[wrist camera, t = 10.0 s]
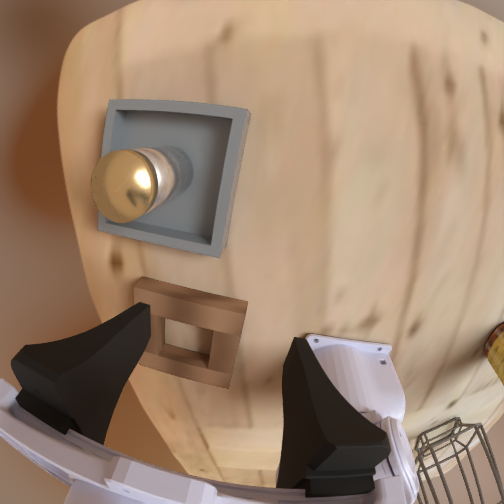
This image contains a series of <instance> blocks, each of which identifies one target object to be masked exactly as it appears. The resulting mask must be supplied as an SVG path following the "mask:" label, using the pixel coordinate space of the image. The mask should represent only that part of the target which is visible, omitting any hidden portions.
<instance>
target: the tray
mask: <svg viewBox="0 0 504 504" xmlns="http://www.w3.org/2000/svg"><path fill="white" fill-rule="evenodd" d="M250 116H251V113H250V112H249V110H248V109H244V108H237V107H230V106H223V105H215V104H206V103H196V102H184V101H169V100H141V99H120V100H109V103H108V109H107V115H106V121H105V128H104V135H103V143H102V152H101V158H102V157H103V156H104V155H106V154H108V153H109V152H112V151H116V150H126V149H137V148H150V147H166V146H172V147H177V148H179V149H181V150H183V151H184V152H185V153H186V154H187V155H188V156H189V158H190V160H191V162H192V165H193V179H192V182H191V184H190V186H189V188H188V189H187V190H186V191H185V192H184V193H183V194H181V195H179V196H178V197H176V198H174V199H172V200H170V201H168V202H166V203H164V204H162V205H160V206H159V207H157V208H155V209H153V210H151V211H149V212H148V213H146V214H144V215H142V216H140V217H138V218H137V219H135V220H133V221H131V222H128V223H116V222H113V221H111V220H109V219H107V218H106V217H105V216H104V215H103V214H102V213H101V212H100V211H99V210H98V231H102V232H106V233H110V234H115V235H119V236H123V237H127V238H132V239H136V240H140V241H145V242H149V243H154V244H158V245H162V246H167V247H171V248H176V249H180V250H185V251H189V252H194V253H198V254H203V255H207V256H212V257H216V258H220V257H221V255H222V253H223V251H224V249H225V247H226V244H227V238H228V232H229V226H230V220H231V215H232V209H233V204H234V198H235V193H236V187H237V182H238V177H239V171H240V166H241V161H242V156H243V151H244V145H245V140H246V135H247V130H248V125H249V121H250Z"/></svg>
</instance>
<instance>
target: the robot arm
mask: <svg viewBox="0 0 504 504" xmlns="http://www.w3.org/2000/svg"><path fill="white" fill-rule="evenodd" d="M150 337H151V310H150V305H149V304H145V303H142V302H139V303H137V304H135V305H133V306H132V307H130V308H129V309H127V310H125V311H124V312H122V313H120V314H119V315H117V316H115V317H114V318H112V319H110V320H108V321H106V322H104V323H103V324H101V325H99V326H97V327H95V328H93V329H91V330H88V331H86V332H84V333H81V334H78V335H75V336H72V337H69V338H65V339H62V340H58V341H54V342H48V343H42V344H32V345H25V346H24V347H23V348H22V349H21V350H20V351H19V352H18V353H17V354H16V355H15V357H14V358H13V359H12V360H11V367H12V370H13V372H14V374H15V376H16V378H17V380H18V381H19V383H20V385H21V387H22V388H23V389H22V390H21V391H20V392H19V391H18V390H17V389H16V388H15V387H14V386H12V385H11V384H9V383H8V382H7V381H6V380H4V379H3V378H0V436H1V437H2V438H3V439H5V440H6V441H7V442H8V443H10V444H11V445H12V446H13V447H14V448H15V449H17V450H18V451H19V452H20V453H22V454H23V455H24V456H26V457H27V458H28V459H30V460H31V461H32V462H34V463H35V464H36V465H38V466H39V467H41V468H42V469H43V470H45V471H46V472H48V473H49V474H51V475H52V476H54V477H56V478H57V479H58V480H60V481H61V482H63V483H65V484H66V485H68V486H70V487H71V488H70V490H69V492H68V495H67V497H66V499H65V502H64V504H413V503H414V501H415V500H416V498H417V493H418V491H419V480H418V476H417V473H416V466H415V461H414V457H413V453H412V450H411V447H410V444H409V441H408V438H407V436H406V433H405V431H404V429H403V427H402V425H401V422H402V420H403V417H404V414H405V394H404V391H403V388H402V386H401V383H400V381H399V378H398V376H397V373H396V371H395V368H394V366H393V363H392V361H391V359H390V356H389V353H390V352H391V350H392V347H391V345H389V344H382V343H373V342H365V341H357V340H349V339H342V338H335V337H328V336H322V335H316V334H309V335H307V336H306V338H305V339H304V338H298V337H294V339H293V342H292V344H291V347H290V350H289V352H288V355H287V357H286V360H285V362H284V365H283V375H282V395H283V415H284V428H283V440H282V450H281V459H280V463H279V466H278V469H277V472H276V488H267V487H256V486H248V485H240V484H233V483H227V482H221V481H215V480H210V479H205V478H201V477H196V476H192V475H188V474H184V473H180V472H176V471H173V470H169V469H165V468H162V467H159V466H156V465H153V464H150V463H147V462H144V461H141V460H138V459H135V458H133V457H130V456H127V455H125V454H122V453H120V452H118V451H115V450H113V449H110V448H108V447H106V446H104V445H103V444H104V441H105V437H106V433H107V430H108V427H109V423H110V420H111V418H112V415H113V412H114V409H115V407H116V404H117V401H118V399H119V396H120V394H121V392H122V389H123V387H124V385H125V383H126V381H127V380H128V378H129V377H130V375H131V373H132V371H133V370H134V368H135V366H136V365H137V363H138V361H139V360H140V358H141V356H142V355H143V353H144V351H145V349H146V347H147V344H148V342H149V339H150ZM315 339H318V340H316V341H315ZM379 347H380V348H379ZM378 348H379V349H378Z"/></svg>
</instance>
